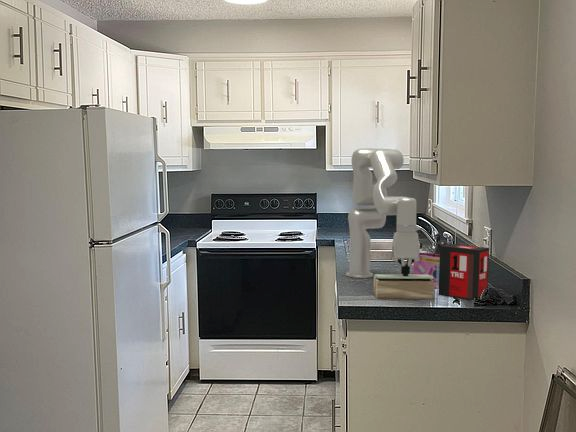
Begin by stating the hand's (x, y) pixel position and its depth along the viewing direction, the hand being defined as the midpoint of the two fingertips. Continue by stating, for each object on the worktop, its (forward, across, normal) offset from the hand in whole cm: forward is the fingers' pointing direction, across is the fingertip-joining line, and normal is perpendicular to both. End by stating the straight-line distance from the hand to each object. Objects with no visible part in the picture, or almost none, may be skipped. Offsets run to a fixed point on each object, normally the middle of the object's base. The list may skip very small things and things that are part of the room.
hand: (405, 275), depth 238 cm
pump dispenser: (+8, -30, -58) cm, 65 cm away
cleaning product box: (+9, -24, -4) cm, 26 cm away
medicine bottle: (+8, -21, -74) cm, 78 cm away
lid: (+1, 0, -3) cm, 3 cm away
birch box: (+9, 0, -4) cm, 9 cm away
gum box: (+9, -20, -21) cm, 30 cm away
